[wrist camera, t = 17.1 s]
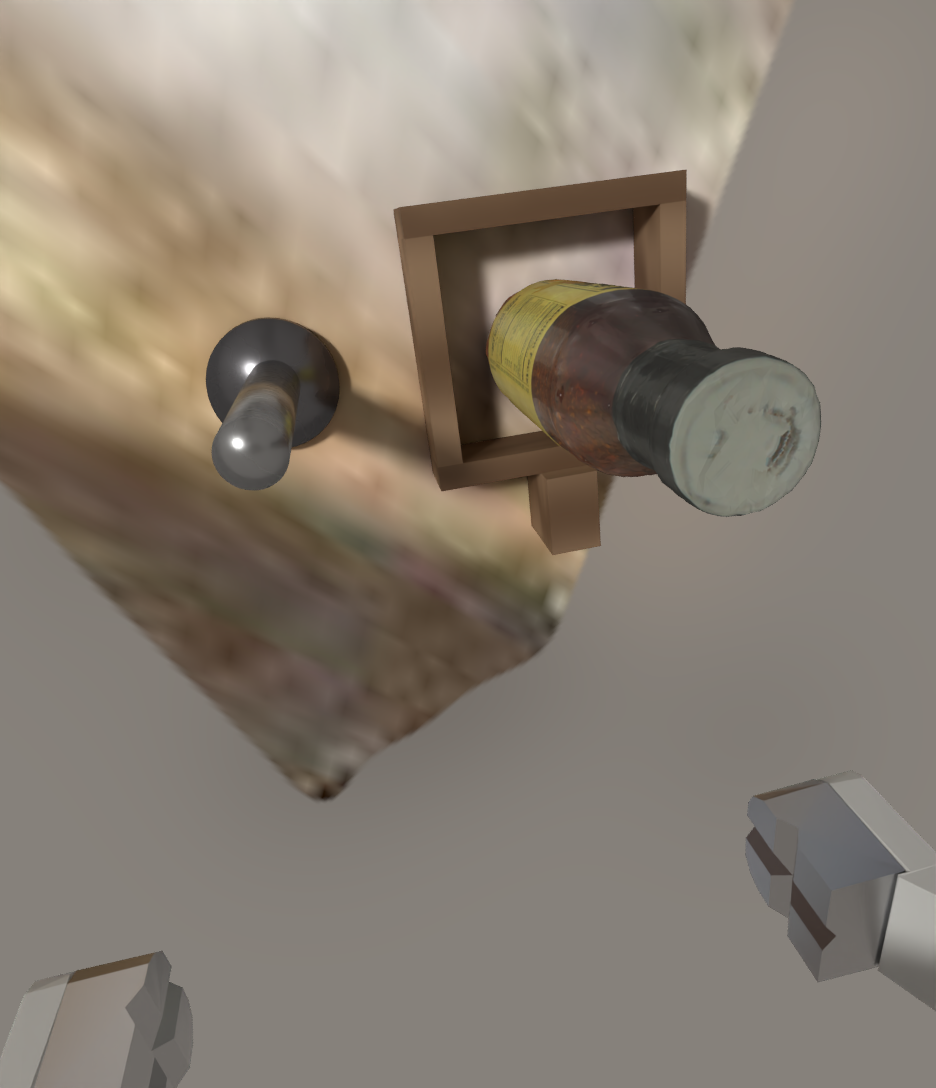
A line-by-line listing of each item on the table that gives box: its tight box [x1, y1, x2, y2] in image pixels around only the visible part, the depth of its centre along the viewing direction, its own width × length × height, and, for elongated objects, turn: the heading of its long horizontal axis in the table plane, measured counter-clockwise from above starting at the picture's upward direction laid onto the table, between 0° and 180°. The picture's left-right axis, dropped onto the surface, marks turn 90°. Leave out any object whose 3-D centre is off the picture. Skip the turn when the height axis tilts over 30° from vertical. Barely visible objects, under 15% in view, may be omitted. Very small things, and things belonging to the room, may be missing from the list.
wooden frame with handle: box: [394, 170, 686, 555], centre depth 34 cm, size 16×12×4 cm
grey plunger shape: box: [206, 318, 339, 490], centre depth 28 cm, size 6×6×12 cm
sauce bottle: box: [486, 279, 821, 517], centre depth 26 cm, size 7×6×20 cm
